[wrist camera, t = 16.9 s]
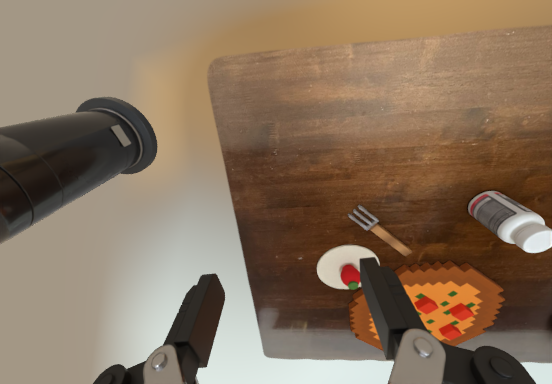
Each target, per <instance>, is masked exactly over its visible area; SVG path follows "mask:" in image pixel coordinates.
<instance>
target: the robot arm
mask: <svg viewBox="0 0 552 384" xmlns="http://www.w3.org/2000/svg"><path fill="white" fill-rule="evenodd" d="M143 153H144V143H143V139H142V136H141V134H140V132H139V130H138V129H137V127H136V126H135V125H134V124H133V123H132V121H130V120H129V119H128V118H127V117H126V116H124V115H123V114H121V113H120V112H118V111H116V110H113V109H110V108H102V107H101V108H94V109H90V110H88V111H83V112H78V113H72V114H67V115H62V116H57V117H52V118H46V119H42V120H36V121H31V122H26V123H21V124H16V125H11V126H6V127H1V128H0V244H2V243H3V242H5V241H7V240H9V239H11V238H13V237H14V236H16V235H18V234H19V233H21V232H23V231H24V230H26V229H28V228H29V227H31V226H33V225H34V224H36V223H38V222H39V221H41V220H43V219H44V218H46V217H47V216H49V215H51V214H53V213H54V212H55V211H57V210H59V209H60V208H62V207H64V206H66V205H67V204H69V203H71V202H72V201H74V200H76V199H77V198H80V197H81V196H83V195H85V194H86V193H88V192H90V191H91V190H93V189H94V188H96V187H98V186H100V185H101V184H103V183H105V182H106V181H108V180H110V179H111V178H113V177H115V176H116V175H118V174H119V173H121V172H123V171H124V170H126V169H128V168H130V167H132V166H134V165H136V164H137V163H138V162H139V161H140V160H141V159H142V157H143ZM360 282H361V287H362V290H363V293H364V296H365V299H366V302H367V305H368V307H369V310H370V313H371V316H372V319H373V322H374V325H375V328H376V331H377V333H378V336H379V339H380V342H381V345H382V348H383V351H384V354H385V357H386V359H387V360H391V359H394V365H393V369H392V372H391V375H390V378H389V381H388V384H536V383H535V381H534V380H533V379H532V377H531V376H530V375H529V373H528V372H527V371H526V369H525V368H524V367H523V366H522V365H521V364H520V363H519V362H518V361H517V360H516V359H515V358H514V357H512V356H511V355H510V354H508V353H506V352H505V351H502V350H500V349H498V348H495V347H491V346H482V347H479V348H477V349H476V350H475V352H474V351H470V350H467V349H463V348H459V347H455V346H451V345H448V344H446V343H444V342H442V341H440V340H439V339H437V338H436V337H434V336H433V335H432V334H431V333H430V332H429V331H428V330H427V328H426V327H425V325H424V323H423V322H422V320H421V318H420V316H419V314H418V312H417V311H416V309H415V307H414V305H413V303H412V301H411V299H410V298H409V296H408V294H407V293H406V290H405V288H404V287H403V286H402V283H401V281H400V279H399V277H398V276H397V274H396V273H395V272H394V271H393V270H391V269H390V268H389V267H388V266H387V267H380V266H379V264H378V262H377V260H376V258H375V257H368V258H360ZM224 301H225V292H224V289H223V287H222V285H221V283H220V281H219V279H218V277H217V275H216V274H207V275H202V276H201V277H200V279H199V282H198V284H197V285H194V286H193V287H192V288H191V289H190V290H189V291H188V293H187V294H186V296H185V298H184V300H183V302H182V305H181V307H180V309H179V313H177V316H176V318H175V320H174V322H173V325H172V327H171V329H170V331H169V333H168V336H167V338H166V340H165V342H164V344H163V346H161V347H159V348H157V349H156V350H155V351H154V352H153V353H152V354H151V355H150V356H149V357H148V359H147V360H146V361H144V362H142V363H140V364H137V365H135V366H133V367H131V368H128V369H126V368H125V367H124V366H122V365H120V364H117V365H113V366H111V367H109V368H108V369H106V370H105V371H104V372H103V373H101V374H100V375H99V377H98V378H97V379H96V380H95V382H94V383H93V384H199V383H198V380H197V377H196V374H197V370H198V368H203V367H207V364H208V360H209V356H210V353H211V349H212V346H213V342H214V338H215V335H216V331H217V327H218V324H219V320H220V316H221V312H222V309H223V305H224Z"/></svg>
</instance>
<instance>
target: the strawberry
mask: <svg viewBox="0 0 552 384" xmlns="http://www.w3.org/2000/svg"><path fill="white" fill-rule="evenodd" d="M340 277H341V280H342V282H343V283H344V284H345V285H346V286H348V288H349V289H352V290H354V289H357V288H358V286H359V283H360V272H359V271H358V270H357V269H356V268H354V266H352V265H345V266H344V267H343V268H342V271H341V274H340Z"/></svg>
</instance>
